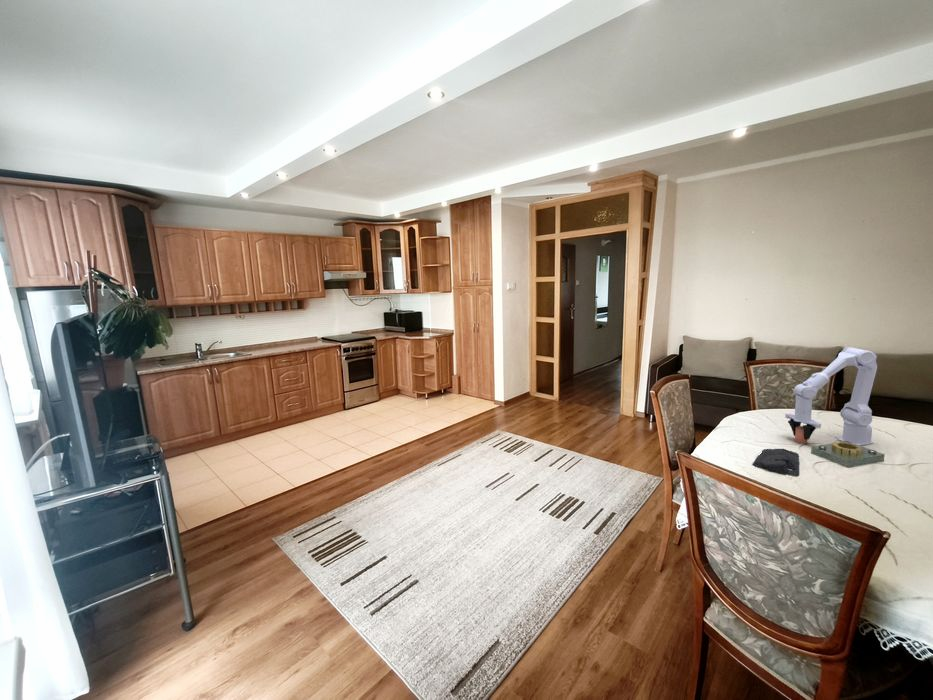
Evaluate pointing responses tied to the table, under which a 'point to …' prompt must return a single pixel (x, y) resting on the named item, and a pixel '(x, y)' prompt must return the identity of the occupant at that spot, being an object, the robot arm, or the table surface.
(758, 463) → the dark slate chunk
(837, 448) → the metal plate with ring
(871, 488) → the table surface
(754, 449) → the table surface
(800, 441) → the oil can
